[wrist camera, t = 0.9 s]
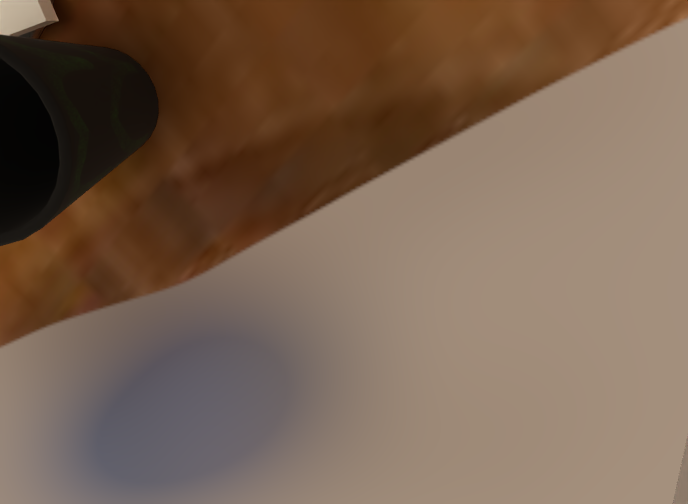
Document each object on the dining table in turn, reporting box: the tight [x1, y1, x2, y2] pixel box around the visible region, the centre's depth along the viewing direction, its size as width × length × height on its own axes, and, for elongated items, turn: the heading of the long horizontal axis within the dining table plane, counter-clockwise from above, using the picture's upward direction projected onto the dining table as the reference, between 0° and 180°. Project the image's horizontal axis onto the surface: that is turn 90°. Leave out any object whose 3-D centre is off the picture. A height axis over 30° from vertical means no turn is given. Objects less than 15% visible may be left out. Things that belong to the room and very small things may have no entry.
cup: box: [0, 35, 158, 246], centre depth 28 cm, size 8×8×12 cm
